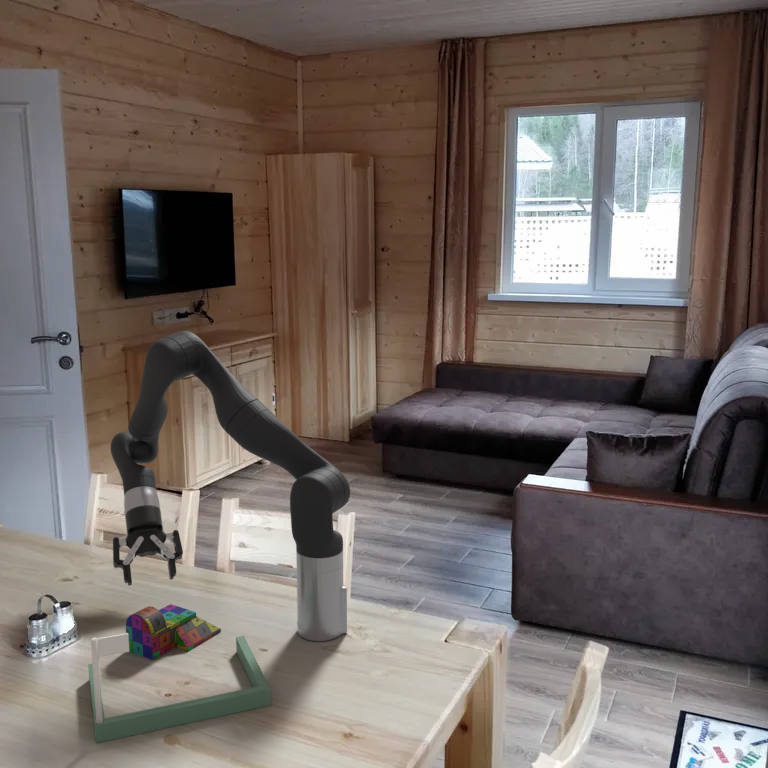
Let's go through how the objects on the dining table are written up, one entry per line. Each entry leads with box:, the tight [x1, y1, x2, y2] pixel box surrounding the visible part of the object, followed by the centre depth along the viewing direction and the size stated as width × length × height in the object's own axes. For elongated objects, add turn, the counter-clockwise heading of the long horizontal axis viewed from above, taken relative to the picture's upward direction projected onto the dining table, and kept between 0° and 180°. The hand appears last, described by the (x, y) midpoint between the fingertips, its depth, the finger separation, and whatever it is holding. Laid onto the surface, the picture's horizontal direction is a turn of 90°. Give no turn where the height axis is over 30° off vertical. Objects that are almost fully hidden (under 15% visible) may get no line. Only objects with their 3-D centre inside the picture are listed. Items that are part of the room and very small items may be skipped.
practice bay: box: [88, 632, 272, 744], centre depth 141 cm, size 28×20×17 cm
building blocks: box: [125, 603, 222, 661], centre depth 160 cm, size 15×10×8 cm
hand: (151, 581), depth 172 cm, fingers open, 8 cm apart
